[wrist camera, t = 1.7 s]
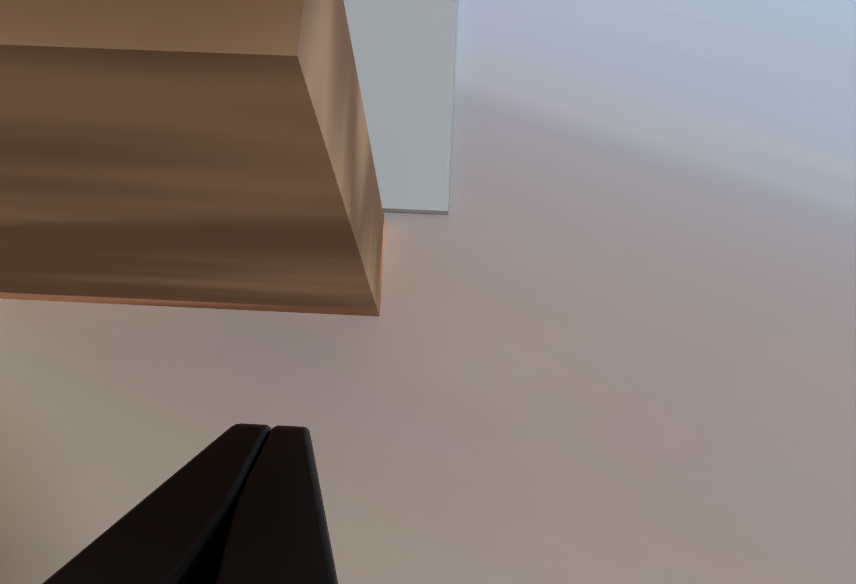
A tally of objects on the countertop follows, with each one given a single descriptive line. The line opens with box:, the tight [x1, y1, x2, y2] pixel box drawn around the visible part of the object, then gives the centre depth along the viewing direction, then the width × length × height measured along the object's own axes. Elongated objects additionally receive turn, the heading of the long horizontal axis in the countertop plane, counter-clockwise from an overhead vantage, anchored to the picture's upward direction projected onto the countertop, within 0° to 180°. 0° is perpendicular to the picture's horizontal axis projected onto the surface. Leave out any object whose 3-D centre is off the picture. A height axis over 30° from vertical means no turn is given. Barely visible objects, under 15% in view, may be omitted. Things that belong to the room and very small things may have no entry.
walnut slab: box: [0, 0, 386, 316], centre depth 17 cm, size 3×12×14 cm, turn 87°
